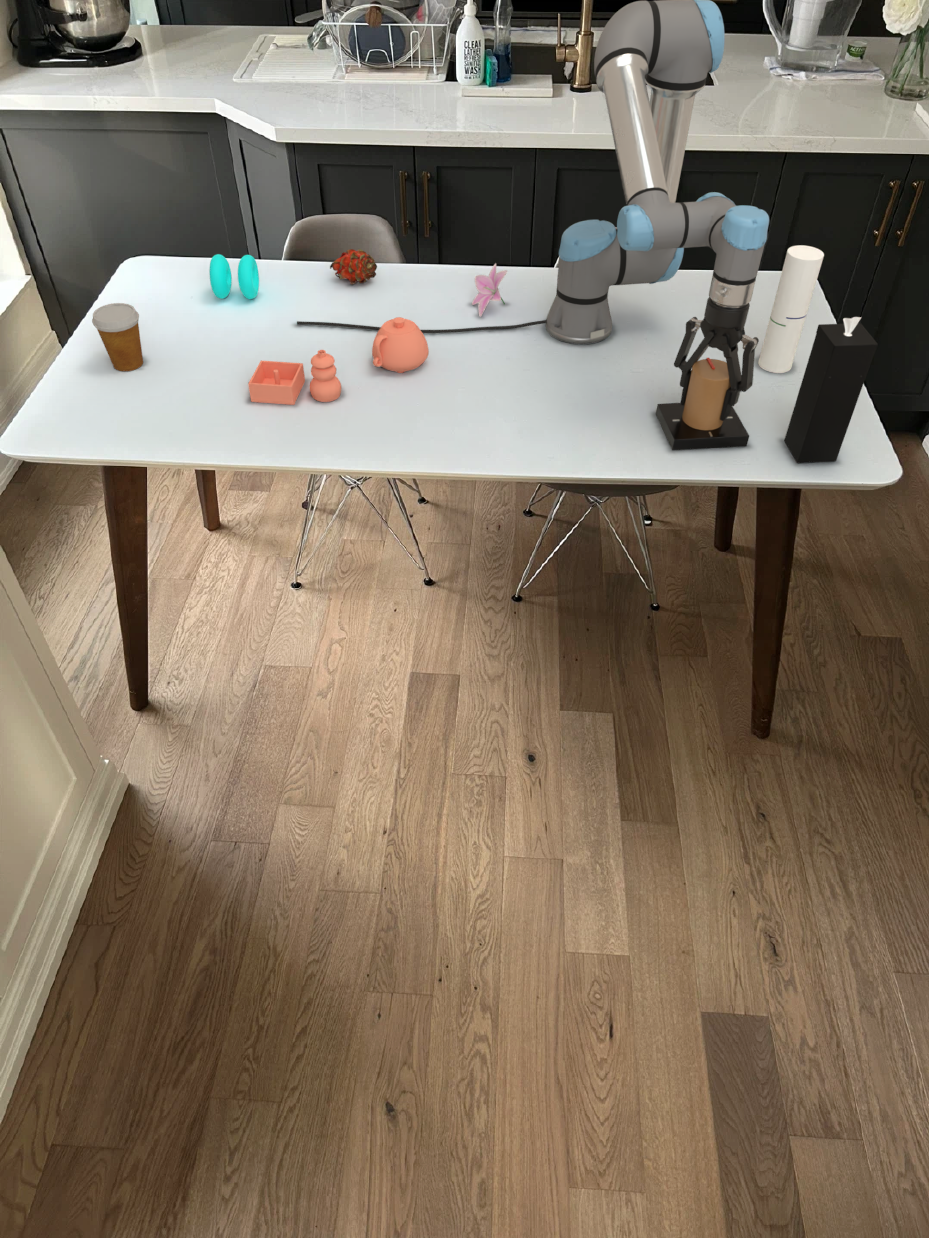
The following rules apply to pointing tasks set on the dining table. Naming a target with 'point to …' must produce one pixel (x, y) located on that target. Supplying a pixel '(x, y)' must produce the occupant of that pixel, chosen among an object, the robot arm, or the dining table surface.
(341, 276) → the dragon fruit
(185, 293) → the dining table surface
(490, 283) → the lily
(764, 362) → the cylindrical container
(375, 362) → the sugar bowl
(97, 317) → the disposable coffee cup
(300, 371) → the terracotta box and gourd
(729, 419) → the control knob panel
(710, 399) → the tan pointer knob
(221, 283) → the donuts
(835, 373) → the tissue box
